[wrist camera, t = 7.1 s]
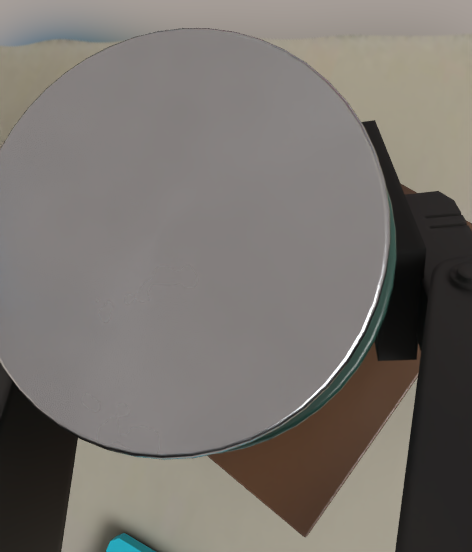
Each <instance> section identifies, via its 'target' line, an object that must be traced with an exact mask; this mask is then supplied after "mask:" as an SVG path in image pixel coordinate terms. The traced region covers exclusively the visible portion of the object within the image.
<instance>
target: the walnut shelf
mask: <svg viewBox="0 0 472 552" xmlns="http://www.w3.org/2000/svg"><path fill="white" fill-rule="evenodd" d="M401 187H402V189H403V192H404V194H405V195H406V194H416V192H415V191H413V190H411V189H409V188H407V187H406V186H404V185H402V184H401ZM466 222H467V225H469V227H470V229H471V231H472V223H470V222H468V221H466ZM420 357H421V350H420V347H419V344H418V350H417V360H394V361H378V359H377V353H376V348H375V342H374V343H373V345H372V347H371V348H370V350H369V352H368V353H367V355H366V357H365V358H364V360H363V362H362V363H361V365H360V367H359V368H358V369H357V371H356V372H355V373H354V374H353V376H352V377H351V378H350V379H349V381H348V382H347V383H346V384H345V386H344V387H343V388H342V389H341V390H340V391H339V392H338V393H337V394H336V395H335V396H334V397H333V398H332V399H331V400H330V401H329V402H328V403H327V404H325V405H324V406H323V407H322V408H321V409H320V410H319V411H317V412H316V413H314V414H313V415H312V416H310V417H309V418H307V419H306V420H305V421H303V422H302V423H300V424H299V425H298V426H296V427H294V428H292V429H290V430H288V431H286V432H284V433H282V434H281V435H279V436H277V437H275V438H273V439H270V440H268V441H265V442H262V443H259V444H256V445H253V446H250V447H248V448H244V449H239V450H234V451H229V452H224V453H219V454H211V455H207V456H208V457H209V458H210V459H212V460H213V461H214V462H215V463H216V464H218V465H219V466H220V467H221V468H222V469H223V470H225V471H226V472H227V473H228V474H229V475H231V476H232V477H233V478H234V479H235V480H237V481H238V482H239V483H240V484H241V485H243V486H244V487H245V488H246V489H247V490H249V491H250V492H251V493H252V494H253V495H255V496H256V497H257V498H258V499H259V500H261V501H262V502H263V503H264V504H265V505H266V506H268V507H269V508H270V509H271V510H272V511H274V512H275V513H276V514H277V515H278V516H280V517H281V518H282V519H283V520H284V521H286V522H287V523H288V524H289V525H290V526H292V527H293V528H294V529H295V530H296V531H298V532H299V533H300V534H301V535H302V536H304V537H307V536H308V534H309V533H310V531H311V530H312V528H313V527H314V526H315V524H316V523H317V521H318V520H319V518H320V517H321V515H322V514H323V513H324V511H325V510H326V508H327V507H328V505H329V504H330V503H331V501H332V500H333V498H334V497H335V495H336V494H337V492H338V491H339V490H340V488H341V487H342V485H343V484H344V482H345V481H346V479H347V478H348V477H349V475H350V474H351V472H352V471H353V469H354V468H355V466H356V465H357V464H358V462H359V461H360V459H361V458H362V456H363V455H364V454H365V452H366V451H367V449H368V448H369V446H370V445H371V443H372V442H373V441H374V439H375V438H376V436H377V435H378V433H379V432H380V430H381V429H382V428H383V426H384V425H385V423H386V422H387V420H388V419H389V418H390V416H391V415H392V413H393V412H394V410H395V409H396V407H397V406H398V405H399V403H400V402H401V400H402V399H403V397H404V396H405V394H406V393H407V392H408V390H409V389H410V387H411V386H412V384H413V383H414V382H415V380H416V379H417V377H418V372H419V365H420Z"/></svg>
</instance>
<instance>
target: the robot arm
mask: <svg viewBox="0 0 472 552" xmlns="http://www.w3.org/2000/svg"><path fill="white" fill-rule="evenodd" d="M361 123H362V124H363V126H364V127H365V130H366V132H367V134H368V136H369V138H370V140H371V142H372V144H373V146H374V148H375V150H376V153H377V156H378V159H379V162H380V166H381V169H382V172H383V175H384V178H385V183H386V187H387V190H388V193H389V197H390V200H391V203H392V209H393V215H394V221H395V227H396V254H397V260H396V268H395V276H394V284H393V290H392V293H391V297H390V301H389V305H388V308H387V312H386V315H385V318H384V320H383V323H382V325H381V327H380V330H379V332H378V334H377V337H376V339H375V348H376V353H377V359H378V361H394V360H417V350H418V344H419V347H420V350H421V357H420V365H419V372H418V380H417V388H416V396H415V403H414V411H413V419H412V427H411V434H410V442H409V450H408V457H407V465H406V473H405V481H404V488H403V496H402V504H401V512H400V519H399V527H398V535H397V543H396V550H395V552H472V231H471V229H470V227H469V225H467V222H466V220H465V219H464V217H463V215H461V212H460V210H459V208H458V206H457V205H456V203H455V201H454V200H452V199H451V198H449V197H447V196H446V195H444V194H442V193H441V192H439V191H435V192H425V193H416V194H406V195H405V194H404V192H403V189H402V187H401V184H400V182H399V179H398V177H397V174H396V172H395V169H394V167H393V164H392V162H391V159H390V157H389V154H388V152H387V149H386V147H385V144H384V142H383V139H382V137H381V134H380V132H379V129H378V127H377V125H376V122H375V120H374V121H367V122H361ZM77 440H78V437H77V436H75V435H73V434H71V433H70V432H68V431H66V430H65V429H63V428H61V427H59V426H58V425H56V424H55V423H54V422H53V421H51V420H50V419H49V418H48V417H46V416H45V415H44V414H43V413H41V412H40V411H39V410H37V409H36V408H35V407H34V405H33V404H32V403H31V402H30V401H29V400H28V399H27V398H26V397H25V396H24V395H23V394H22V393H21V392H20V391H19V390H18V388H17V387H16V386H15V384H14V383H13V381H12V380H11V379H10V377H9V376H8V375H7V373H6V372H5V370H4V369H3V367H2V365H1V363H0V552H61V549H62V542H63V535H64V528H65V521H66V515H67V508H68V501H69V494H70V487H71V480H72V474H73V467H74V460H75V453H76V446H77Z"/></svg>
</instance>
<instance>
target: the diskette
mask: <svg viewBox="0 0 472 552" xmlns="http://www.w3.org/2000/svg"><path fill="white" fill-rule="evenodd" d="M106 552H156V551H154V550H152V549H151V548H149V547H147V546H146V545H144V544H142V543H140V542H139V541H137V540H135V539H134V538H132V537H130V536H129V535H127V534H125V533H123V534H120V535H118V536H116V537H114V538H113V539H112V540H111V541H110V543H109V545H108V548H107V550H106Z"/></svg>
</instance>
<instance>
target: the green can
mask: <svg viewBox="0 0 472 552" xmlns="http://www.w3.org/2000/svg"><path fill="white" fill-rule="evenodd" d="M396 260H397V254H396V227H395V221H394V215H393V209H392V203H391V200H390V197H389V193H388V190H387V187H386V183H385V178H384V175H383V172H382V169H381V166H380V162H379V159H378V156H377V153H376V150H375V148H374V146H373V144H372V142H371V140H370V138H369V136H368V134H367V132H366V130H365V127H364V126H363V124H362V123H361V121H360V120H359V118H358V117H357V115H356V114H355V112H354V111H353V109H352V108H351V106H350V105H349V103H348V102H347V101H346V100H345V99H344V97H343V96H342V95H341V94H340V93H339V92H338V91H337V90H336V89H335V88H334V86H333V85H332V84H331V83H330V82H329V81H328V80H327V79H325V78H324V77H323V76H322V75H320V74H319V73H318V72H317V71H316V70H314V69H313V68H312V67H311V66H310V65H308V64H307V63H306V62H304V61H302V60H301V59H299V58H297V57H296V56H294V55H292V54H291V53H289V52H288V51H286V50H284V49H282V48H280V47H277V46H275V45H273V44H271V43H268V42H266V41H264V40H261V39H258V38H255V37H251V36H247V35H244V34H240V33H237V32H232V31H224V30H217V29H209V28H208V29H207V28H182V29H174V30H165V31H158V32H154V33H149V34H146V35H141V36H137V37H133V38H131V39H128V40H125V41H123V42H120V43H117V44H115V45H112V46H110V47H108V48H106V49H104V50H102V51H100V52H98V53H96V54H94V55H92V56H90V57H88V58H86V59H85V60H83V61H82V62H80V63H79V64H77V65H76V66H75V67H73V68H72V69H70V70H69V71H67V72H66V73H64V74H63V75H62V76H61V77H60V78H58V79H57V80H56V81H55V82H54V83H53V84H51V85H50V86H49V87H48V88H47V89H46V90H45V91H44V92H43V93H42V94H41V95H40V96H39V97H38V98H37V99H36V100H35V101H34V102H33V103H32V104H31V105H30V106H29V107H28V109H27V110H26V111H25V113H24V114H23V115H22V117H21V118H20V119H19V121H18V122H17V123H16V125H15V126H14V127H13V129H12V130H11V132H10V134H9V135H8V137H7V139H6V140H5V142H4V144H3V145H2V147H1V148H0V363H1V365H2V367H3V369H4V370H5V372H6V373H7V375H8V376H9V377H10V379H11V380H12V381H13V383H14V384H15V386H16V387H17V388H18V390H19V391H20V392H21V393H22V394H23V395H24V396H25V397H26V398H27V399H28V400H29V401H30V402H31V403H32V404H33V405H34V407H35V408H36V409H37V410H39V411H40V412H41V413H43V414H44V415H45V416H46V417H48V418H49V419H50V420H51V421H53V422H54V423H55V424H56V425H58V426H59V427H61V428H63V429H65V430H66V431H68V432H70V433H71V434H73V435H75V436H77V437H78V438H80V439H82V440H84V441H87V442H89V443H92V444H94V445H97V446H99V447H102V448H104V449H107V450H109V451H114V452H118V453H122V454H126V455H130V456H134V457H143V458H153V459H164V460H165V459H183V458H196V457H201V456H206V455H211V454H219V453H224V452H229V451H234V450H239V449H244V448H248V447H250V446H253V445H256V444H259V443H262V442H265V441H268V440H270V439H273V438H275V437H277V436H279V435H281V434H282V433H284V432H286V431H288V430H290V429H292V428H294V427H296V426H298V425H299V424H300V423H302V422H303V421H305V420H306V419H307V418H309V417H310V416H312V415H313V414H314V413H316V412H317V411H319V410H320V409H321V408H322V407H323V406H324V405H325V404H327V403H328V402H329V401H330V400H331V399H332V398H333V397H334V396H335V395H336V394H337V393H338V392H339V391H340V390H341V389H342V388H343V387H344V386H345V384H346V383H347V382H348V381H349V379H350V378H351V377H352V376H353V374H354V373H355V372H356V371H357V369H358V368H359V367H360V365H361V363H362V362H363V360H364V358H365V357H366V355H367V353H368V352H369V350H370V348H371V347H372V345H373V343H374V342H375V339H376V337H377V334H378V332H379V330H380V327H381V325H382V323H383V320H384V318H385V315H386V312H387V308H388V305H389V301H390V297H391V293H392V290H393V284H394V276H395V268H396Z"/></svg>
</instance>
